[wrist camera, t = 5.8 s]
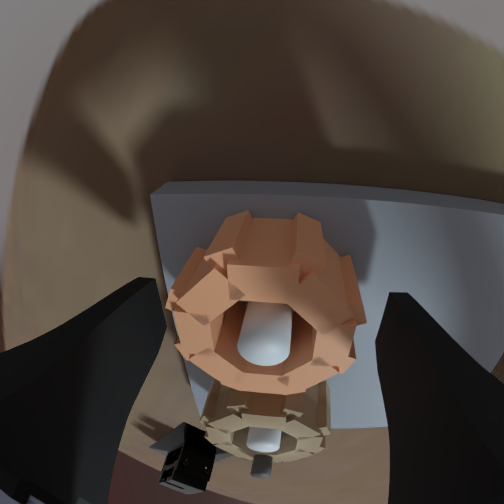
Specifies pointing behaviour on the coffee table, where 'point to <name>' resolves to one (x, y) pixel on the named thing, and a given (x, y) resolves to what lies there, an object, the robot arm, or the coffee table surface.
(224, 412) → the gear
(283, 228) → the gear
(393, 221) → the gear board
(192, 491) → the black piece
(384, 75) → the coffee table surface
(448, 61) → the coffee table surface
